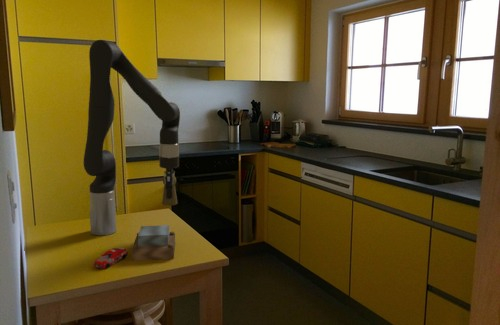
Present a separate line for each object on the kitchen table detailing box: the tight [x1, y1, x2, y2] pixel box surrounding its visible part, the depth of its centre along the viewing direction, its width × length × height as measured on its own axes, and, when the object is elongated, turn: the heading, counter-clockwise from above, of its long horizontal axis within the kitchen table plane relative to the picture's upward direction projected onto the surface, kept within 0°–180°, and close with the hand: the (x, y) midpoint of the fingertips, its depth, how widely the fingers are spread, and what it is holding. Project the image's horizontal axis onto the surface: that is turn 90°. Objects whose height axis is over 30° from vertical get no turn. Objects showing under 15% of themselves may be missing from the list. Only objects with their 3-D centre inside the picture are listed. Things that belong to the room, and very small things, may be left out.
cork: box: [161, 176, 178, 207], centre depth 163 cm, size 6×6×11 cm
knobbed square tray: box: [131, 224, 176, 261], centre depth 149 cm, size 14×14×8 cm
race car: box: [93, 247, 129, 270], centre depth 140 cm, size 13×5×4 cm, turn 154°
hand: (169, 197), depth 163 cm, fingers closed on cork, 3 cm apart
